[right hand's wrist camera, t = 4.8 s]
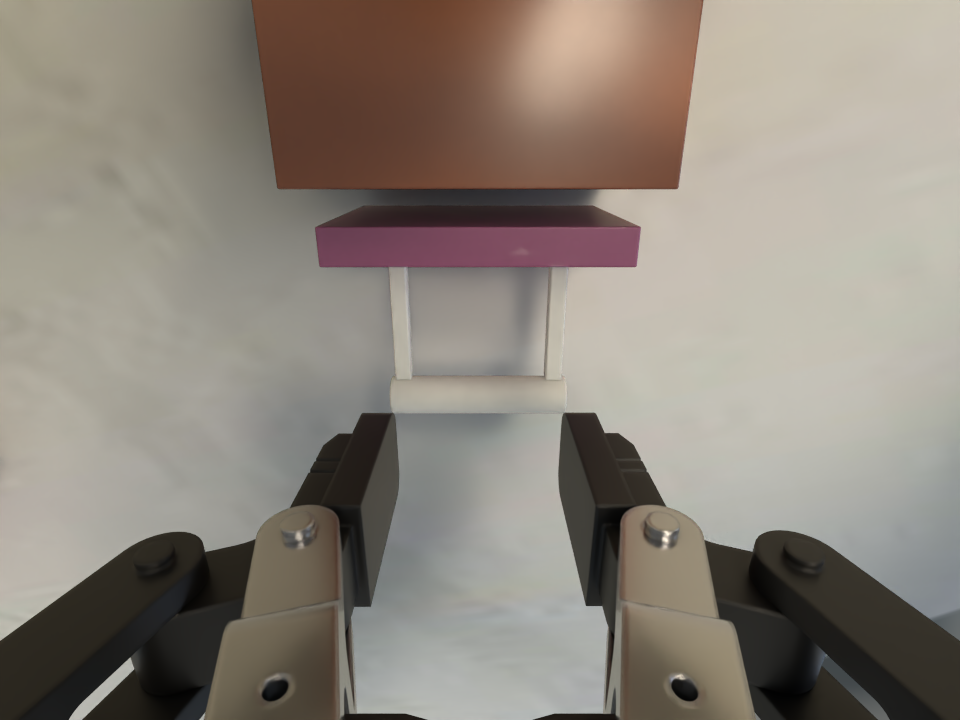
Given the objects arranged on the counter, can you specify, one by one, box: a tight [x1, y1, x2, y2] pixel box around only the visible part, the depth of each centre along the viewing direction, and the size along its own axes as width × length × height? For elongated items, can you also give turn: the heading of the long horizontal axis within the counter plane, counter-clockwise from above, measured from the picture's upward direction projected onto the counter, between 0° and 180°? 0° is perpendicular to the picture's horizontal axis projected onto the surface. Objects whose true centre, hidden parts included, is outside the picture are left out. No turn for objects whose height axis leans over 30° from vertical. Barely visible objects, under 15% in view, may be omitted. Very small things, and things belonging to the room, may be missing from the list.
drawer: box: [315, 206, 641, 413], centre depth 18 cm, size 18×10×7 cm, turn 0°
